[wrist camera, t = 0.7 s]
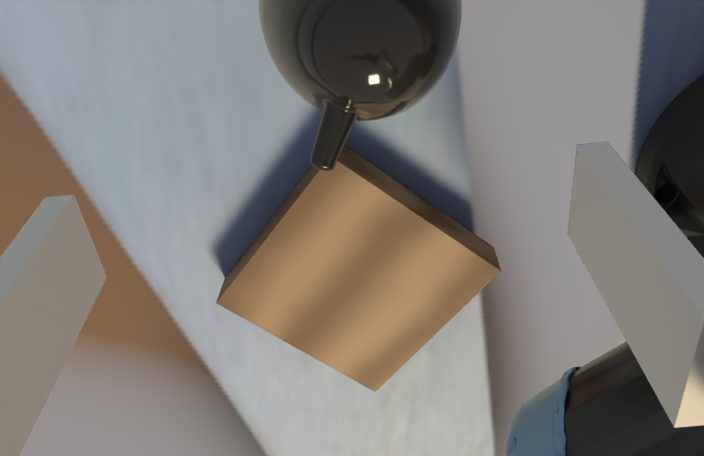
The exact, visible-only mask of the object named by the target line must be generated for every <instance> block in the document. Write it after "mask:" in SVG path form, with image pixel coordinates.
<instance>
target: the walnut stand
mask: <svg viewBox="0 0 704 456" xmlns="http://www.w3.org/2000/svg"><path fill="white" fill-rule="evenodd" d="M500 272H501V269H500V266H499V263H498V260H497V256H496V253H495V250H494V247H492V246H491V245H490V244H488V243H487V242H485V241H484V240H482V239H480V238H479V237H478V236H476V235H475V234H473V233H472V232H471V231H469V230H468V229H466V228H465V227H463V226H462V225H460V224H459V223H457V222H456V221H455V220H453V219H452V218H450V217H449V216H447V215H446V214H444V213H443V212H441V211H440V210H438V209H437V208H436V207H434V206H433V205H431V204H430V203H428V202H427V201H425V200H424V199H422V198H421V197H419V196H418V195H417V194H415V193H414V192H412V191H411V190H409V189H408V188H406V187H405V186H403V185H402V184H400V183H399V182H398V181H396V180H395V179H393V178H392V177H390V176H389V175H387V174H386V173H384V172H383V171H381V170H380V169H379V168H377V167H376V166H374V165H373V164H371V163H370V162H368V161H367V160H365V159H364V158H363V157H361V156H360V155H358V154H357V153H355V152H354V151H352V150H351V149H349V148H348V147H346V146H345V145H344V147H343V149H342V152H341V154H340V156H339V158H338V160H337V163H336V165H335V167H334V169H333V170H332V171H329V172H325V171H322V170H319V169H317V168H315V167H313V166H311V167H310V168H309V170H308V171H307V172H306V173H305V175H304V176H303V177H302V179H301V180H300V181H299V183H298V184H297V185H296V186H295V188H294V189H293V190H292V192H291V193H290V194H289V196H288V197H287V198H286V199H285V201H284V202H283V203H282V205H281V206H280V207H279V209H278V210H277V211H276V213H275V214H274V215H273V216H272V218H271V219H270V220H269V222H268V223H267V224H266V226H265V227H264V228H263V229H262V231H261V232H260V233H259V235H258V236H257V237H256V239H255V240H254V241H253V242H252V244H251V245H250V246H249V248H248V249H247V250H246V252H245V253H244V254H243V255H242V257H241V258H240V259H239V261H238V262H237V263H236V265H235V266H234V267H233V269H232V270H231V271H230V272H229V274H228V275H227V276H226V278H225V280H224V282H223V285H222V288H221V291H220V294H219V297H218V299H217V302H216V303H217V304H219V305H221V306H223V307H224V308H226V309H228V310H230V311H231V312H233V313H235V314H237V315H239V316H240V317H242V318H244V319H246V320H248V321H249V322H251V323H253V324H255V325H257V326H258V327H260V328H262V329H264V330H265V331H267V332H269V333H271V334H273V335H274V336H276V337H278V338H280V339H282V340H283V341H285V342H287V343H289V344H290V345H292V346H294V347H296V348H298V349H299V350H301V351H303V352H305V353H307V354H308V355H310V356H312V357H314V358H315V359H317V360H319V361H321V362H323V363H324V364H326V365H328V366H330V367H332V368H333V369H335V370H337V371H339V372H341V373H342V374H344V375H346V376H348V377H349V378H351V379H353V380H355V381H357V382H358V383H360V384H362V385H364V386H366V387H367V388H369V389H371V390H373V391H374V392H375V391H377V390H378V389H379V388H380V387H381V386H382V385H383V384H384V383H385V382H386V381H387V380H388V379H389V378H390V377H391V376H392V375H393V374H394V373H395V372H396V371H397V370H398V369H399V368H401V367H402V366H403V365H404V364H405V363H406V362H407V361H408V360H409V359H410V358H411V357H412V356H413V355H414V354H415V353H416V352H417V351H418V350H419V349H420V348H421V347H422V346H423V345H425V344H426V343H427V342H428V341H429V340H430V339H431V338H432V337H433V336H434V335H435V334H436V333H437V332H438V331H439V330H440V329H441V328H442V327H443V326H444V325H445V324H446V323H447V322H449V321H450V320H451V319H452V318H453V317H454V316H455V315H456V314H457V313H458V312H459V311H460V310H461V309H462V308H463V307H464V306H465V305H466V304H467V303H468V302H469V301H470V300H471V299H473V298H474V297H475V296H476V295H477V294H478V293H479V292H480V291H481V290H482V289H483V288H484V287H485V286H486V285H487V284H488V283H489V282H490V281H491V280H492V279H493V278H494V277H495V276H496V275H498V274H499V273H500Z"/></svg>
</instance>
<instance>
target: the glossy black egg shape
mask: <svg viewBox="0 0 704 456" xmlns="http://www.w3.org/2000/svg"><path fill="white" fill-rule="evenodd" d="M259 15H260V22H261V27H262V32H263V35H264V39H265V42H266V45H267V48H268V51H269V53H270V55H271V58H272V60H273V62H274V64H275V65H276V67H277V69H278V71H279V72H280V74H281V75H282V77H283V78H284V79H285V81H286V82H287V83H288V84H289V85H290V87H291V88H292V89H293V90H294V91H295V92H296V93H297V94H298V95H299V96H301V97H302V98H303V99H304V100H305V101H307V102H308V103H310V104H311V105H312V106H314V107H316V108H317V109H319V110H321V111H323V115H322V118H321V122H320V125H319V129H318V132H317V136H316V140H315V143H314V147H313V150H312V154H311V157H310V163H311V165H312V166H313V167H315V168H317V169H319V170H322V171H325V172H329V171H332V170H333V169H334V167H335V165H336V163H337V160H338V158H339V156H340V154H341V152H342V149H343V147H344V145H345V143H346V140H347V138H348V136H349V134H350V132H351V129H352V127H353V125H354V123H355V121H371V120H379V119H384V118H388V117H391V116H394V115H397V114H399V113H402V112H404V111H406V110H408V109H409V108H411V107H413V106H414V105H416V104H417V103H418V102H420V101H421V100H422V99H423V98H424V97H425V96H426V95H427V94H428V93H429V92H430V91H431V90H432V89H433V88H434V87H435V85H436V84H437V83H438V81H439V80H440V78H441V77H442V75H443V74H444V72H445V70H446V68H447V66H448V64H449V62H450V60H451V57H452V55H453V52H454V50H455V47H456V43H457V40H458V35H459V30H460V24H461V23H460V22H461V0H259Z"/></svg>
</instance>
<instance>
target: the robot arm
mask: <svg viewBox="0 0 704 456" xmlns="http://www.w3.org/2000/svg"><path fill="white" fill-rule="evenodd" d="M568 235H569V237H570V239H571V241H572V243H573V244H574V246H575V248H576V250H577V252H578V254H579V255H580V257H581V259H582V261H583V263H584V265H585V266H586V268H587V270H588V272H589V273H590V275H591V277H592V279H593V281H594V282H595V284H596V286H597V288H598V290H599V292H600V294H601V295H602V297H603V299H604V301H605V303H606V305H607V306H608V308H609V310H610V312H611V314H612V315H613V317H614V319H615V321H616V323H617V325H618V326H619V328H620V330H621V332H622V334H623V335H624V337H625V339H626V341H627V342H625V343H623V344H621V345H620V346H618V347H616V348H614V349H612V350H611V351H609V352H607V353H605V354H604V355H602V356H600V357H598V358H597V359H595V360H593V361H591V362H590V363H588V364H586V365H584V366H583V367H572V368H571V369H569V370H568V371H566V372H565V373H564V375H563V376H562V379H560V380H558V381H557V382H555V383H554V384H552V385H551V386H549V387H548V388H546V389H544V390H543V391H541V392H540V393H538V394H537V395H535V396H533V397H532V398H530V399H529V400H527V401H526V402H525V403H523V404H522V405H521V407H520V408H519V409H518V410H517V411H516V413H515V415H514V416H513V418H512V420H511V423H510V426H509V430H508V435H507V442H506V451H507V456H704V76H703V77H701V78H700V79H699V80H697V81H696V82H695V83H693V84H692V85H691V86H690V87H688V88H687V89H686V90H685V91H684V92H683V93H681V94H680V95H679V96H678V97H677V98H676V99H675V100H674V101H673V102H672V103H671V104H670V106H669V107H668V108H667V109H666V110H665V111H664V113H663V114H662V115H661V117H660V118H659V119H658V121H657V122H656V124H655V125H654V127H653V128H652V130H651V132H650V134H649V135H648V138H647V140H646V142H645V144H644V146H643V149H642V151H641V154H640V157H639V161H638V165H637V170H636V176H635V174H634V173H633V172H632V171H631V170H630V168H629V167H628V166H627V165H626V164H625V162H624V161H623V160H622V159H621V158H620V156H619V155H618V154H617V153H616V151H615V150H614V149H613V148H612V147H611V145H610V144H609V143H608V142H599V143H589V144H579V145H577V151H576V161H575V169H574V179H573V188H572V197H571V206H570V215H569V225H568ZM106 277H107V276H106V274H105V272H104V269H103V266H102V264H101V262H100V259H99V256H98V254H97V251H96V249H95V247H94V244H93V241H92V239H91V236H90V234H89V231H88V229H87V227H86V224H85V221H84V219H83V216H82V214H81V212H80V209H79V206H78V204H77V201H76V199H75V196H74V195H66V196H56V197H46V198H44V200H43V201H42V202H41V204H40V205H39V206H38V208H37V209H36V210H35V212H34V213H33V215H32V216H31V217H30V219H29V220H28V221H27V222H26V224H25V225H24V227H23V228H22V229H21V230H20V232H19V233H18V234H17V236H16V237H15V238H14V240H13V241H12V242H11V244H10V245H9V246H8V248H7V249H6V251H5V252H4V253H3V254H2V256H1V257H0V456H19V454H20V452H21V450H22V448H23V446H24V444H25V442H26V440H27V438H28V436H29V434H30V432H31V430H32V428H33V426H34V424H35V422H36V420H37V418H38V416H39V414H40V412H41V410H42V408H43V406H44V404H45V402H46V399H47V397H48V395H49V393H50V391H51V389H52V387H53V385H54V383H55V381H56V379H57V377H58V375H59V373H60V371H61V369H62V367H63V365H64V363H65V361H66V359H67V357H68V355H69V353H70V351H71V349H72V346H73V344H74V343H75V341H76V338H77V336H78V334H79V332H80V330H81V328H82V326H83V324H84V322H85V320H86V318H87V316H88V314H89V312H90V310H91V308H92V306H93V304H94V302H95V300H96V298H97V296H98V294H99V292H100V289H101V288H102V286H103V284H104V282H105V279H106Z"/></svg>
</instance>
